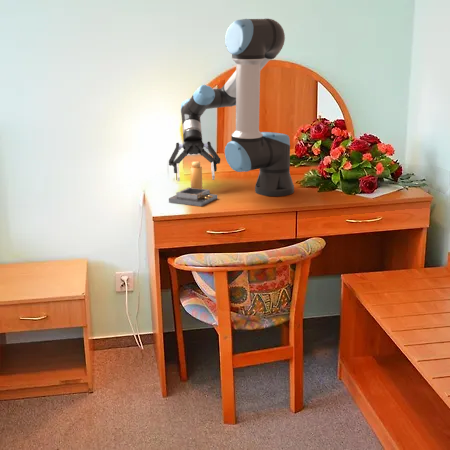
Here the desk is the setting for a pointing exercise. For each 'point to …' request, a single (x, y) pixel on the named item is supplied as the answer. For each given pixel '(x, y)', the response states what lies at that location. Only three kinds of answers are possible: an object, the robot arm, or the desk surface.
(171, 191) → the desk surface
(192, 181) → the wooden peg doll
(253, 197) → the desk surface
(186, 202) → the plate
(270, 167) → the robot arm
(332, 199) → the desk surface
